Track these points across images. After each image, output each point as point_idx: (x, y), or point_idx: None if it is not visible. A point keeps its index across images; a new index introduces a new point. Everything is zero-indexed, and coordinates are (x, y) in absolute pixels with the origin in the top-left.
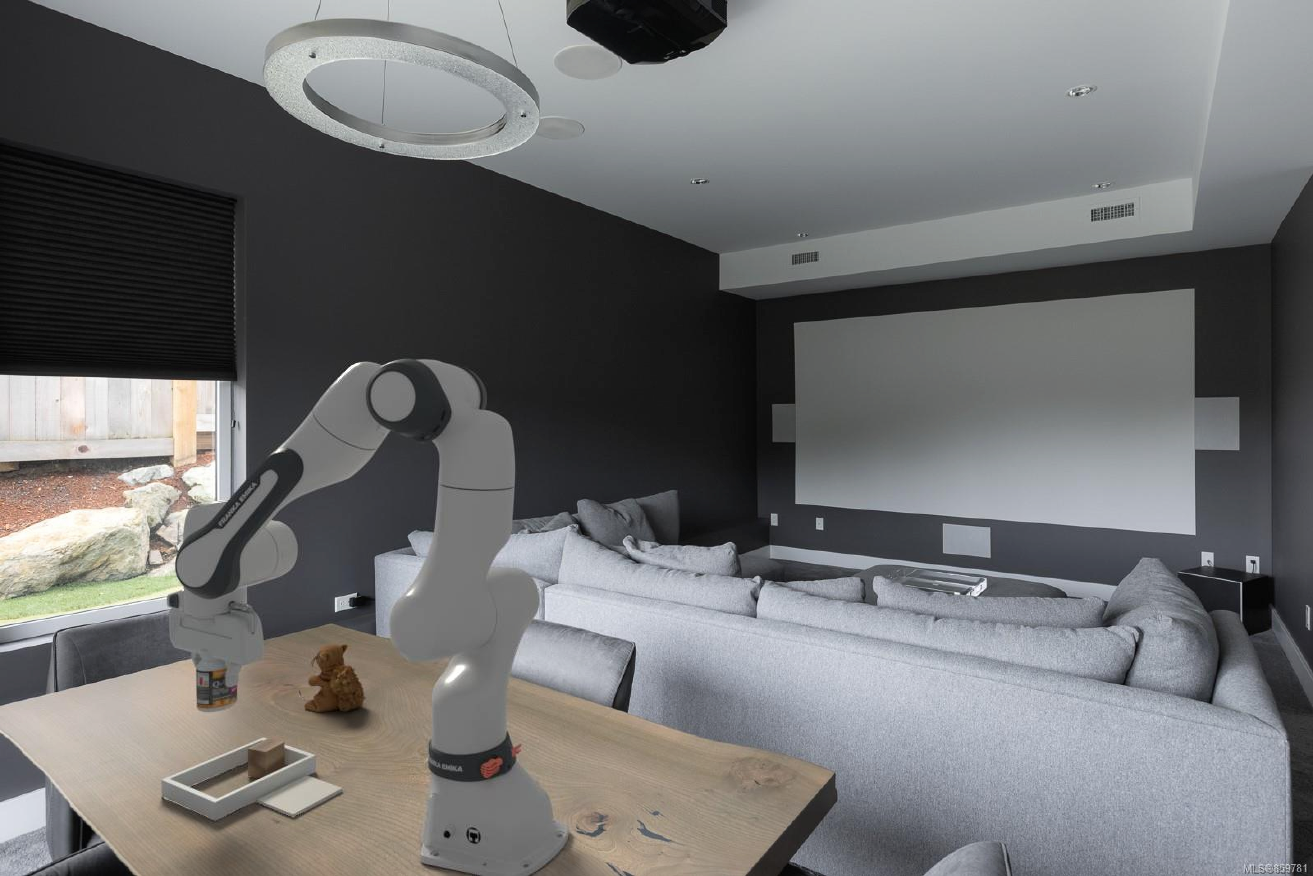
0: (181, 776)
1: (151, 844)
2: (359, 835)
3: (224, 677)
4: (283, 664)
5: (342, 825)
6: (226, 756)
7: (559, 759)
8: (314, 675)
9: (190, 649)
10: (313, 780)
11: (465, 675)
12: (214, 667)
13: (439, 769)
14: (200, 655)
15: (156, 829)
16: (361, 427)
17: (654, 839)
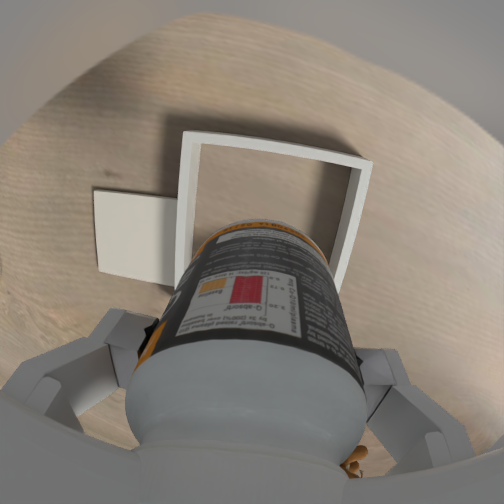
0: (355, 191)
1: (232, 45)
2: (18, 196)
3: (113, 340)
4: None
5: (41, 204)
6: (334, 276)
7: (19, 363)
8: (359, 459)
9: (469, 476)
10: (151, 276)
11: None
12: (141, 382)
13: None
14: (288, 476)
15: (270, 76)
16: None
17: None
